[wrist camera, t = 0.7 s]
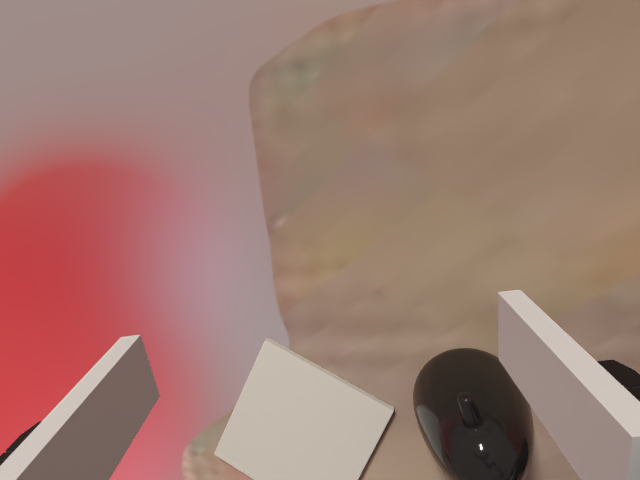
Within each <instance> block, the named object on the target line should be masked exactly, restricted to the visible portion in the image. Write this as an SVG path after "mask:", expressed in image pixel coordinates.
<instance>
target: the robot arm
mask: <svg viewBox="0 0 640 480" xmlns="http://www.w3.org/2000/svg"><path fill="white" fill-rule="evenodd" d="M498 348H499V361H500V362H501V363H502V365H503V366H504V368H505V369H506V371H507V372H508V374H509V375H510V377H511V378H512V380H513V381H514V383H515V384H516V386H517V387H518V388H519V390H520V391H521V393H522V394H523V396H524V397H525V399H526V400H527V402H528V403H529V405H530V406H531V408H532V409H533V411H534V412H535V413H536V415H537V416H538V418H539V419H540V421H541V422H542V424H543V425H544V427H545V428H546V430H547V431H548V433H549V434H550V435H551V437H552V438H553V440H554V441H555V443H556V444H557V446H558V447H559V449H560V450H561V452H562V453H563V455H564V456H565V458H566V459H567V460H568V462H569V463H570V465H571V466H572V468H573V469H574V471H575V472H576V474H577V475H578V477H579V478H580V480H640V375H639V374H638V373H637V372H636V371H635V370H633V369H631V368H629V367H627V366H625V365H623V364H621V363H619V362H617V361H615V360H606V361H596V360H595V359H593V358H592V357H591V356H590V355H589V354H588V353H587V352H586V351H585V350H584V349H583V348H582V347H581V346H580V345H579V344H577V343H576V342H575V341H574V340H573V339H572V338H571V337H570V336H569V335H568V334H567V333H566V332H565V331H564V330H562V329H561V328H560V327H559V326H558V325H557V324H556V323H555V322H554V321H553V320H552V319H551V318H550V317H549V316H548V315H546V314H545V313H544V312H543V311H542V310H541V309H540V308H539V307H538V306H537V305H536V304H535V303H534V302H533V301H531V300H530V299H529V298H528V297H527V296H526V295H525V294H524V293H523V292H522V291H521V290H513V291H504V292H498ZM159 396H160V395H159V391H158V388H157V385H156V382H155V379H154V376H153V372H152V369H151V366H150V363H149V360H148V357H147V353H146V350H145V347H144V344H143V341H142V338H141V335H134V336H126V337H121V338H120V339H119V340H118V341H117V342H116V343H115V344H114V345H113V346H112V347H111V348H110V350H108V352H107V353H106V354H105V355H104V356H103V357H102V358H101V359H100V360H99V361H98V362H97V363H96V364H95V365H94V367H93V368H92V369H91V370H90V371H89V372H88V373H87V374H86V375H85V376H84V377H83V378H82V379H81V381H79V382H78V384H77V385H76V386H75V387H74V388H73V389H72V390H71V391H70V392H69V393H68V394H67V395H66V396H65V397H64V399H63V400H62V401H61V402H60V403H59V404H58V405H57V406H56V407H55V408H54V409H53V410H52V411H51V412H50V414H48V415H47V417H46V418H45V419H44V420H43V421H40V422H38V423H37V424H35V425H34V426H33V427H31V428H30V429H29V430H27V431H26V432H24V433H23V434H22V435H20V436H19V437H18V439H16V441H15V442H14V443H13V444H12V445H11V446H10V447H9V448H8V449H7V450H6V453H3V454H2V455H1V456H0V480H109V479H110V477H111V476H112V474H113V472H114V471H115V469H116V467H117V466H118V464H119V462H120V461H121V459H122V457H123V456H124V454H125V453H126V451H127V449H128V448H129V446H130V444H131V443H132V441H133V439H134V438H135V436H136V434H137V433H138V431H139V429H140V428H141V426H142V424H143V423H144V421H145V420H146V418H147V416H148V415H149V413H150V411H151V410H152V408H153V406H154V405H155V403H156V401H157V400H158V398H159Z"/></svg>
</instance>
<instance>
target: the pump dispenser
mask: <svg viewBox="0 0 640 480" xmlns="http://www.w3.org/2000/svg"><path fill="white" fill-rule="evenodd" d="M413 405H414V411H415V416H416V419H417V422H418V426H419V428H420V431H421V434H422V436H423V438H424V441H425V443H426V445H427V447H428V448H429V450H430V452H431V454H432V455H433V457H434V458H435V460H436V462H437V463H438V465H439V466H440V467H441V469H442V470H443V471H444V472H445V473H446V475H447V476H448V477H449V478H450V479H451V480H524V479H525V477H526V475H527V473H528V471H529V468H530V465H531V461H532V456H533V447H534V427H533V418H532V412H531V408H530V405H529V403H528V402H527V400H526V399H525V397H524V396H523V394H522V393H521V391H520V390H519V388H518V387H517V386H516V384H515V383H514V381H513V380H512V378H511V377H510V375H509V374H508V372H507V371H506V369H505V368H504V366H503V365H502V363H501V362H500V361H499V358H498V357H496V356H494V355H492V354H490V353H488V352H485V351H481V350H477V349H470V348H459V349H453V350H449V351H446V352H443V353H441V354H439V355H437V356H435V357H434V358H432V359H431V360H430V361H429V362H428V363H427V364H426V365H425V366H424V367H423V368H422V370H421V371H420V373H419V375H418V377H417V379H416V382H415V385H414V391H413Z"/></svg>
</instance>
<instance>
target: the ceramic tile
mask: <svg viewBox="0 0 640 480" xmlns="http://www.w3.org/2000/svg"><path fill="white" fill-rule="evenodd" d="M393 412H394V407H392V406H390V405H389V404H387V403H385V402H383V401H381V400H380V399H378V398H376V397H374V396H372V395H371V394H369V393H367V392H365V391H363V390H361V389H360V388H358V387H356V386H354V385H352V384H351V383H349V382H347V381H345V380H343V379H342V378H340V377H338V376H336V375H334V374H333V373H331V372H329V371H327V370H325V369H324V368H322V367H320V366H318V365H316V364H314V363H313V362H311V361H309V360H307V359H305V358H304V357H302V356H300V355H298V354H296V353H295V352H293V351H291V350H289V349H287V348H285V347H283V346H282V345H280V344H278V343H276V342H274V341H273V340H271V339H269V338H267V339H266V340H265V341H264V344H263V346H262V348H261V350H260V353H259V355H258V357H257V359H256V361H255V364H254V366H253V368H252V370H251V373H250V375H249V377H248V379H247V382H246V384H245V386H244V388H243V390H242V393H241V395H240V397H239V399H238V402H237V404H236V406H235V408H234V410H233V413H232V415H231V417H230V419H229V422H228V424H227V426H226V428H225V431H224V433H223V435H222V437H221V439H220V442H219V444H218V446H217V448H216V451H215V453H214V455H216V456H217V457H219V458H220V459H222V460H224V461H225V462H227V463H228V464H230V465H232V466H233V467H235V468H236V469H238V470H239V471H241V472H243V473H244V474H246V475H247V476H249V477H250V478H252V479H254V480H358V479H359V477H360V475H361V473H362V471H363V469H364V467H365V465H366V463H367V461H368V459H369V457H370V456H371V454H372V452H373V450H374V448H375V446H376V444H377V442H378V440H379V438H380V436H381V435H382V433H383V431H384V429H385V427H386V425H387V423H388V421H389V419H390V417H391V415H392V413H393Z"/></svg>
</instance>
